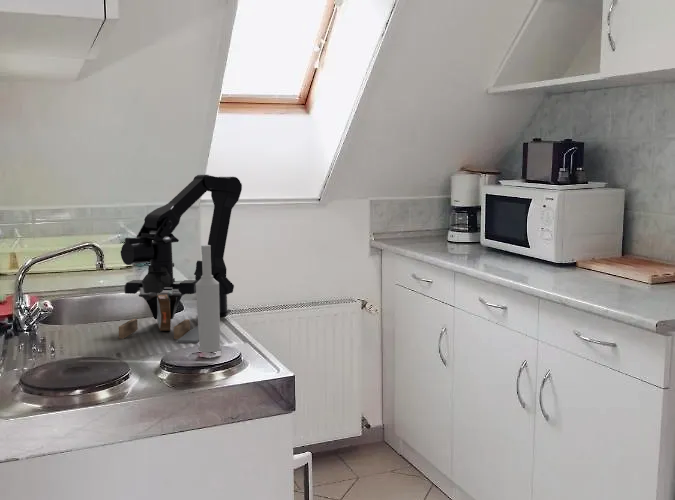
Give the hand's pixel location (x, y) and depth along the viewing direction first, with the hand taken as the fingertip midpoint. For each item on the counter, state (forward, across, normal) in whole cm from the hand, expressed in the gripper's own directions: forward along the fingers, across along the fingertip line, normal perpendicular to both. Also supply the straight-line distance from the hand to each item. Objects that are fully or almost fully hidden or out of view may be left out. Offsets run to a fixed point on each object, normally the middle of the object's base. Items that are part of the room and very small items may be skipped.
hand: (163, 319), depth 184 cm
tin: (+3, 0, 0) cm, 3 cm away
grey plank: (+2, +11, -6) cm, 13 cm away
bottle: (+3, +20, -26) cm, 33 cm away
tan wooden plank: (+2, 0, -6) cm, 7 cm away
